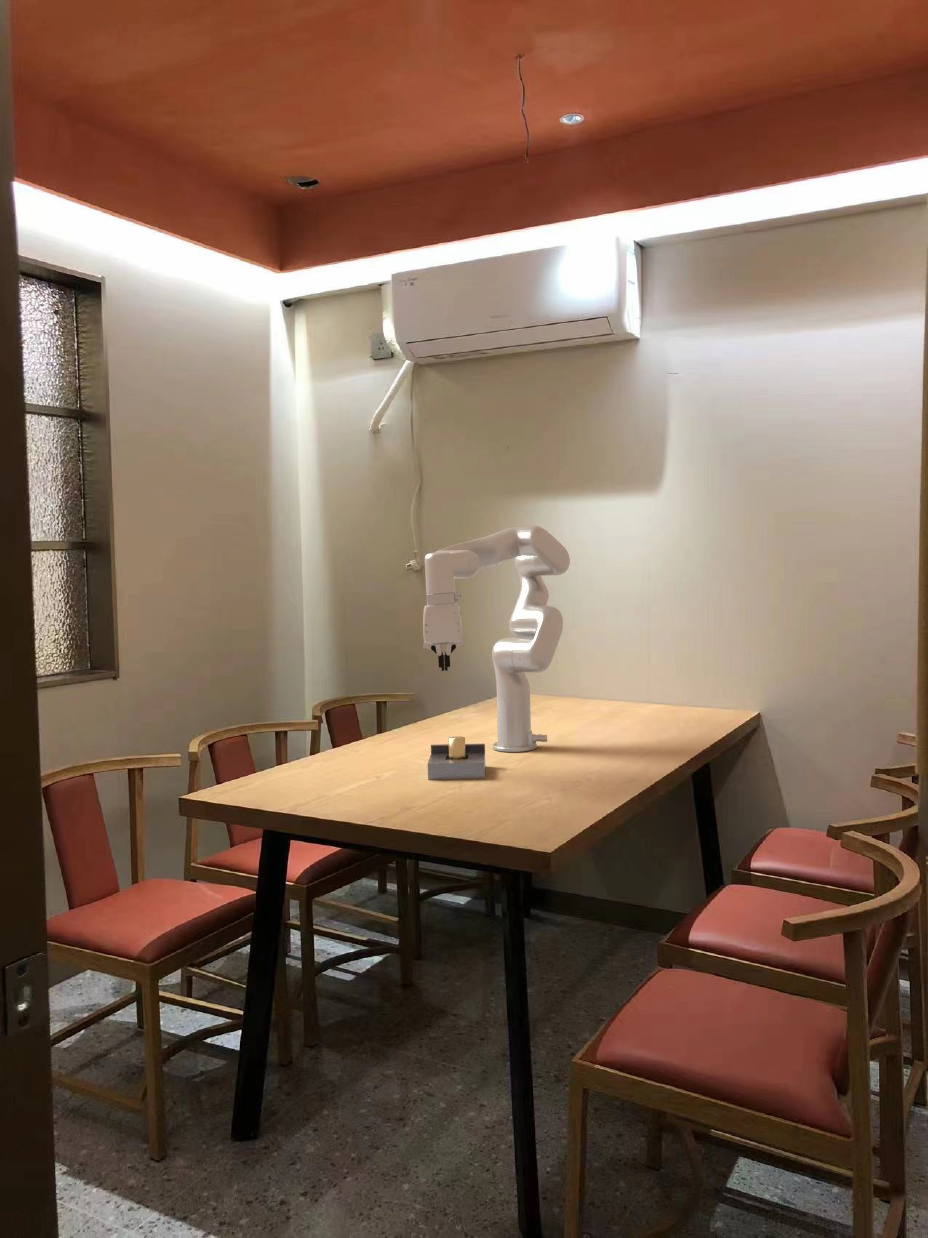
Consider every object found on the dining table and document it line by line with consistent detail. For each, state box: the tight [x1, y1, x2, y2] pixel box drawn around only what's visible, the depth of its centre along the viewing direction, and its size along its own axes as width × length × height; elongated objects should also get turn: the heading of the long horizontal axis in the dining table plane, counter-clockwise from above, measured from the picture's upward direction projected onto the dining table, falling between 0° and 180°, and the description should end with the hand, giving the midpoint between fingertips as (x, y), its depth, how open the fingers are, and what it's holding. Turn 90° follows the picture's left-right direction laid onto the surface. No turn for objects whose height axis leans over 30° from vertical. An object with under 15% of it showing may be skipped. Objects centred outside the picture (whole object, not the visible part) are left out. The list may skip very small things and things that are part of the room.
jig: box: [427, 743, 486, 781], centre depth 247 cm, size 14×14×6 cm
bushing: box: [448, 735, 466, 760], centre depth 247 cm, size 4×4×9 cm
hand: (444, 670), depth 254 cm, fingers closed
